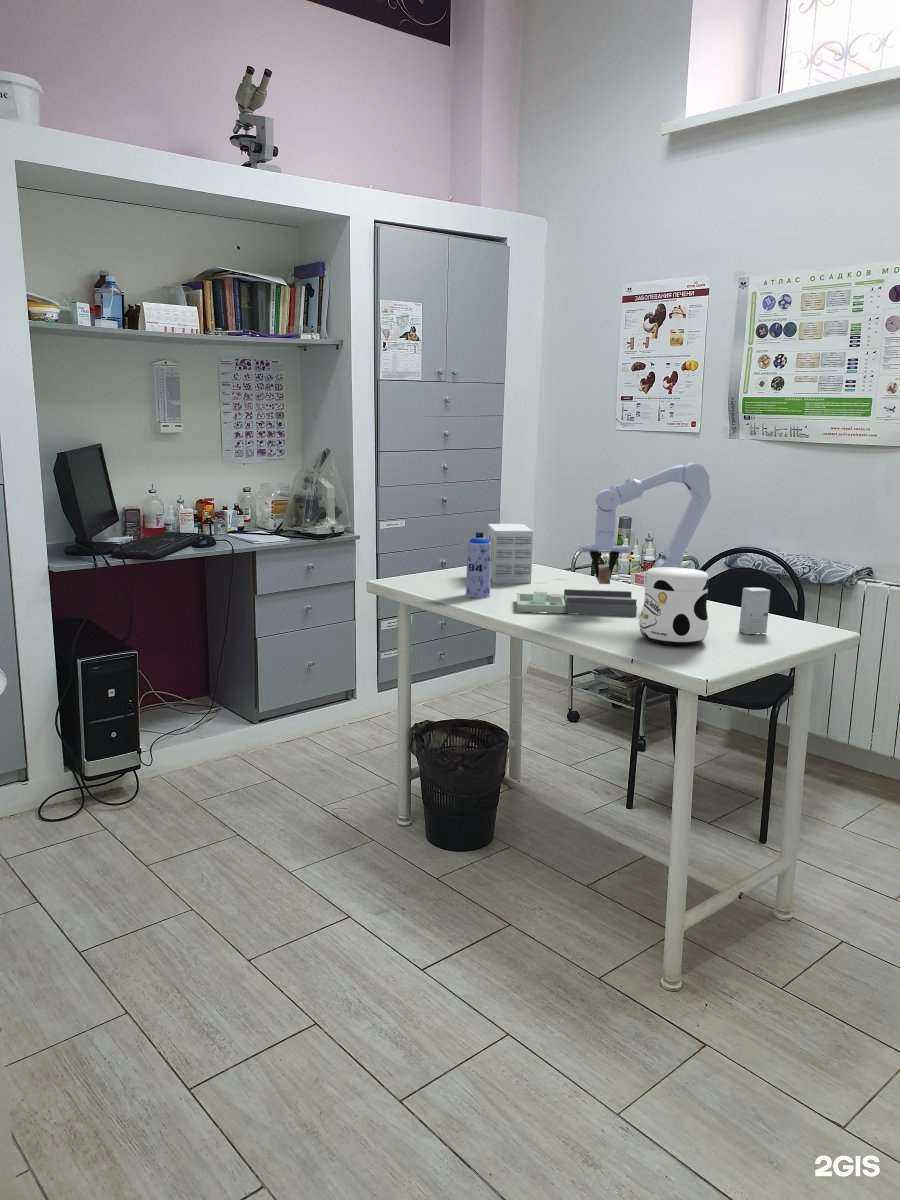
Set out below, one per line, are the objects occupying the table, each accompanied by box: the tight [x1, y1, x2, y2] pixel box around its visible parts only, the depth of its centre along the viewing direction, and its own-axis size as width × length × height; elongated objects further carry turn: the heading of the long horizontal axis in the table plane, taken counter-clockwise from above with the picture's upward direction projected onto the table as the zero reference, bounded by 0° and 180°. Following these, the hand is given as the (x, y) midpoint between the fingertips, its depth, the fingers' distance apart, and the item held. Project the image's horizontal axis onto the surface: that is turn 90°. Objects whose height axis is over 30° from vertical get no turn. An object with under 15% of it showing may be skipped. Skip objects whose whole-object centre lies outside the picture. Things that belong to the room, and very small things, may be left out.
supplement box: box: [487, 523, 534, 584], centre depth 312 cm, size 17×13×18 cm
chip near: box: [549, 593, 561, 605], centre depth 266 cm, size 4×4×3 cm
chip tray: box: [516, 592, 566, 613], centre depth 270 cm, size 14×16×2 cm
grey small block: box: [532, 591, 548, 605], centre depth 274 cm, size 4×4×3 cm
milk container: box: [638, 567, 710, 646], centre depth 233 cm, size 17×17×18 cm
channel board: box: [563, 588, 638, 617], centre depth 269 cm, size 20×15×4 cm
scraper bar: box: [596, 564, 611, 585], centre depth 267 cm, size 3×9×4 cm, turn 176°
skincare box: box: [738, 587, 771, 635], centre depth 243 cm, size 6×4×12 cm
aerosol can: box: [465, 532, 491, 599], centre depth 283 cm, size 8×8×20 cm
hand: (603, 577), depth 267 cm, fingers closed on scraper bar, 3 cm apart
